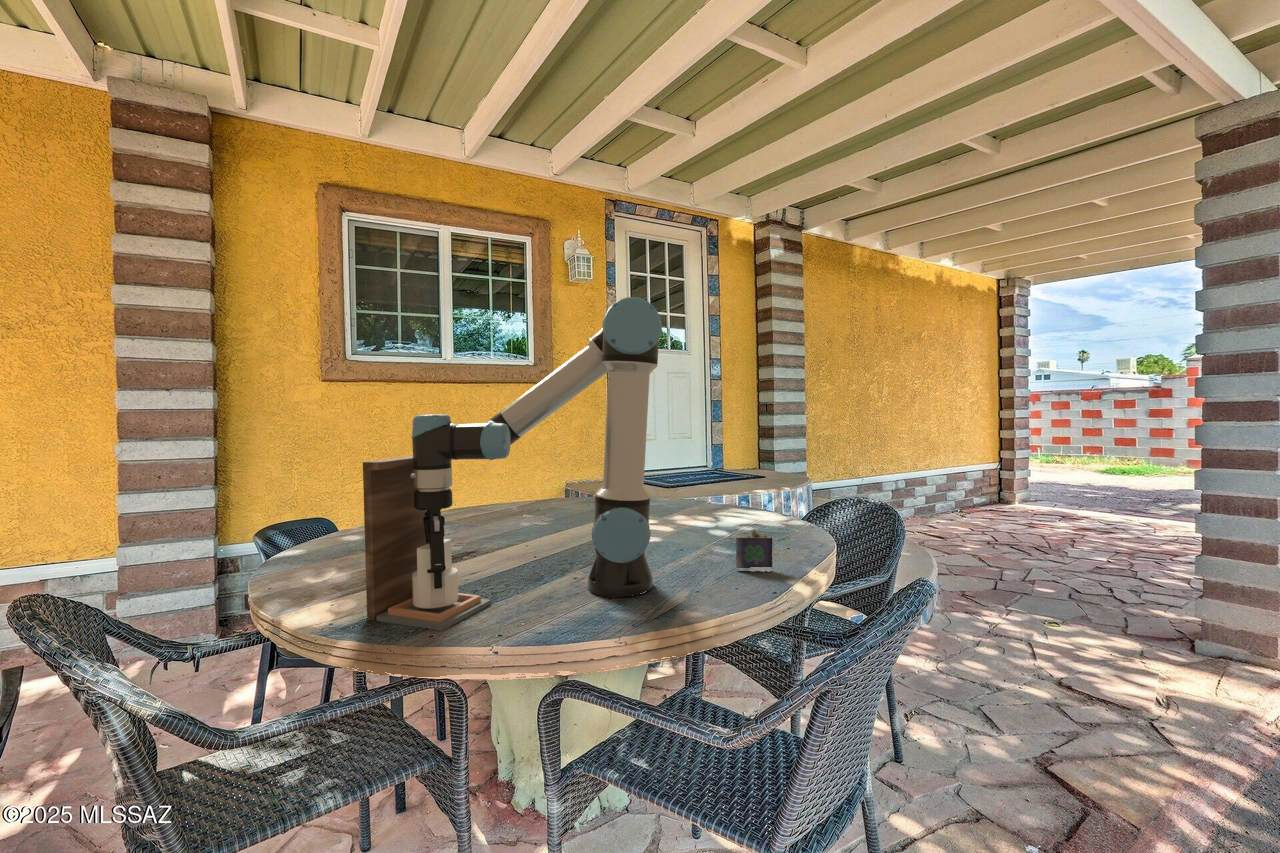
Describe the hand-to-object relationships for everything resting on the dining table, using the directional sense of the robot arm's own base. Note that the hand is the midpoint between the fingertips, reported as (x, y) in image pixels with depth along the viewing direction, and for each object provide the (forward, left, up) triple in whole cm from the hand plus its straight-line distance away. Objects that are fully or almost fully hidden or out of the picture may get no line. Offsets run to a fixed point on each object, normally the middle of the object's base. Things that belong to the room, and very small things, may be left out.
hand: (435, 596), depth 123 cm
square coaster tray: (0, 0, -3) cm, 3 cm away
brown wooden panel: (+10, 0, -3) cm, 10 cm away
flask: (-57, -52, -4) cm, 77 cm away
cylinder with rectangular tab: (0, 0, -1) cm, 1 cm away
